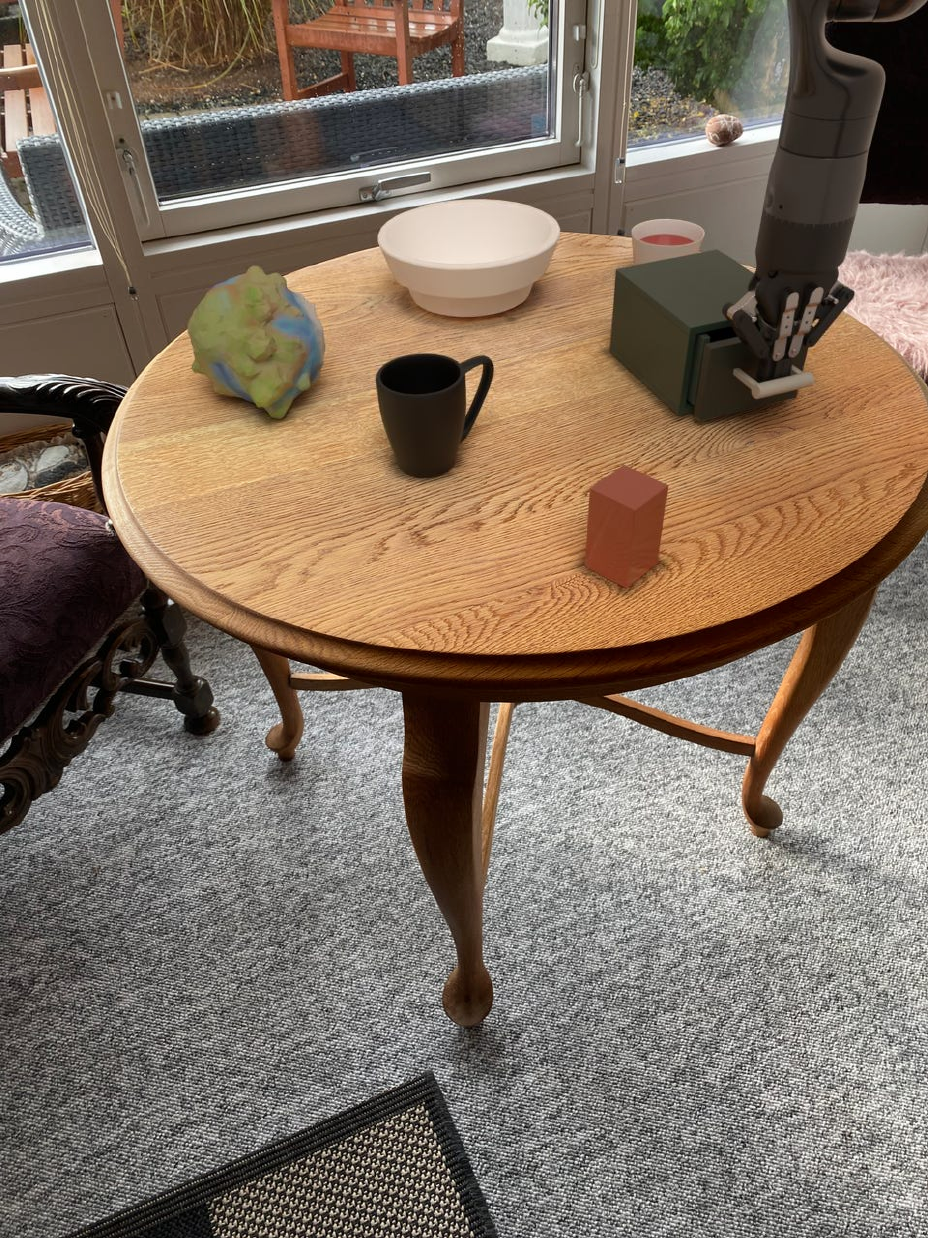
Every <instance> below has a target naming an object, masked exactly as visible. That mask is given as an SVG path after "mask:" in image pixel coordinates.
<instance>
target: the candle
mask: <svg viewBox="0 0 928 1238" xmlns="http://www.w3.org/2000/svg"><path fill="white" fill-rule="evenodd" d="M630 232H631V233H630V234H631V243H632V245H631V246H632V259H633V266H634V265H639V264H644V263H649V262H655V261H660V260H665V259H670V258H675V257H680V256H685V255H691V254H696V253H700V250H701V247H702V245H703V241H704V239H705V235H706V233H705V230H704V229H703V228H702V227H701V226H700V225H699V224H696V223H694V222H691V221H688V220H684V219H683V220H682V219H675V218H658V219H651V220H646V221H642V222H640V223H638V224H636V225H635V226H633V227H632V229H631V231H630Z"/></svg>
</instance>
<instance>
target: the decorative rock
mask: <svg viewBox="0 0 928 1238" xmlns="http://www.w3.org/2000/svg"><path fill="white" fill-rule="evenodd" d="M316 309H317V308H316V304H314V303H312V302H310V301H309V299H306V297H305V295H303V294H302V293H300V292H296V291H292V290H291V289H289V287H288V281H287V279H286V277H284V276H282V275H281V274H280V273H279V272H272V273H269V274H266V273H265V271H264V270H263V269H262V267H260V266H259V265H254V264H253V265H252V266H250V267H249V268H248V269H247V271H246V272H244V273H242V274H238V275H236V276H233V277H230V278H228V279H227V280H225V281H222V282H219V283H216V284H215V285H213V286H212V287H211V288H210V289H209V290H208V291H207V292H205V295H204V297H202V300H201V302H199V304H198V306H197V307H196V308H194V310H193V313H192V315H191V317H190V318H189V320H188V323H187V328H186V329H187V334H188V336H189V339H190V344H191V346H192V350H193V351H192V353H193V357H194V360H193V362H192V364H191V370H192V372H193V374H199V375H204V376H206V377H207V378H208V379H209V380H210V383H211V389H212V390H213V391H214V393H215V394H219V395H223V396H226V397H230V398H232V397H233V398H241V399H242V400H243V399H244V400H245V401H247V402H250V403H253V404H255V406H256V407H257V408H263V409H264V410H265V411H266V412H267V413H268V415H269V416H270V417H271V418H272V419H283V418H284V417H285V416H286V415H287V412H288V410H289V409H290V407H291V405H292V403H293V400H294V399H296V398H297V397H298V396H300V395H301V394H302V393H304V391H305V390H306V391H308V390H310V388H311V386H312V385H311V384H312V383H315V382H318V381H319V380H320V379H321V371H322V368H323V366H324V364H325V359H324V358H325V354H326V347H327V346H326V342H325V333H324V327H323V324H322V322H321V320H320V319H319V317H318V315H317V311H316Z"/></svg>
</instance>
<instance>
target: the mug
mask: <svg viewBox="0 0 928 1238" xmlns="http://www.w3.org/2000/svg"><path fill="white" fill-rule="evenodd" d="M479 366H482V372H481V377H480V381H479V383H478V385H477V388H476V391H475V394H474V396H473V399H472V400H471V403H470V406H469V407H468V409H467V387H466V386H467V385H466V374H468V373H469V372H470V371H471V370H473V369H475V368H477V367H479ZM494 373H495V367H494V363H493V359H491V358H490V357H489V356H488V355H485V354H480V355H475V356H472V357H469V358H468V359H465V360H463V361H461V362H459V361H458V360H456V359H455V358H452V357H450V356H447V355H445V354H440V353H439V354H438V353H431V352H430V353H428V352H423V353H421V352H419V353H412V354H411V353H410V354H406V355H402V356H398V357H396V358H393V359H391V360H389V361H387V362H386V363H384V364H383V365H381V367H380V368H379V369H378V370H377V372H376V374H375V387H376V395H377V403H378V410H379V415H380V418H381V423H382V425H383V428H384V432H385V434H386V437H387V440H388V442H389V445H390V447H391V449H392V452H393V455H394V456H395V457H396V460H397V462H398V465H399V468H400V469H401V470H402V472H404V473H405V474H407V475H409V476H411V477H416V478H423V479H425V478H427V479H428V478H434V477H439V476H442V475H444V474H446V473H448V472H450V471H451V470H452V469H453V468H454V466H455V463H456V461H457V456H458V452H459V448H460V446H461V444H462V443H464V442H465V441H466V439H467V438H468V436H469V434H470V433H471V431H472V429H473V428H474V425H475V423H476V420H477V418H478V416H479V414H480V412H481V410H482V409H483V408H482V407H483V405H484V403H485V400H486V398H487V396H488V393H489V391H490V390H491V386H492V383H493V379H494Z"/></svg>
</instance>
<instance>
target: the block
mask: <svg viewBox="0 0 928 1238" xmlns="http://www.w3.org/2000/svg"><path fill="white" fill-rule="evenodd" d="M588 493H589V494H588V495H589V496H588V507H587V523H586V537H585V553H584V564H583V565H584V567H585V568H587V569H589V570H591V571H593V572H595V573H596V574H598V575H600V576H602V577H603V578H606V579H607V580H609V581H611V582H613V583H615V584H617V585H618V586H620V587H622V588H624V589H628V588H629V587H630V586H631V585H633V584H634V583H635V582H636V581H638V580H639V579H640V578H641V577H642V576H644V575H645V574H646V573H648V572H649V571H650V570H652V568H654V567H655V566H656V565H658V562H659V557H660V556H659V555H660V548H661V542H662V534H663V528H664V521H665V515H666V514H665V513H666V507H667V499H668V493H669V484H667V483H665V482H662V481H661V480H659V479H656V478H654V477H652V476H649V475H648V474H645V473H644V472H641V471H638V470H636V469H634V468H632V467H630V466H628V465H625V464H622V465H621V466H619V467H618V468H617V469H615V470H614V471H612V472H611V473H609V474H608V475H606V476H605V477H604V478H603V479H601V480H599V481H598V482H597V483H595V484H594V485H592V486H591V487H590V488H589V492H588Z"/></svg>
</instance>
